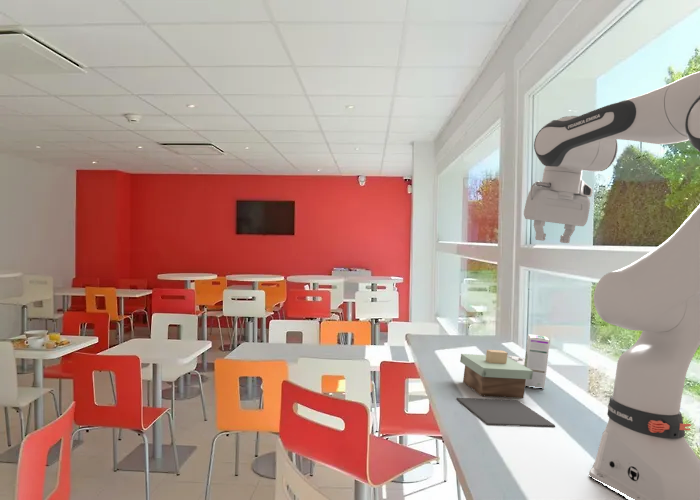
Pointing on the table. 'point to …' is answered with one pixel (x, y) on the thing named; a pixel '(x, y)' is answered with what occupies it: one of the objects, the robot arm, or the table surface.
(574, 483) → the table surface
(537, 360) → the syrup box
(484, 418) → the black mat
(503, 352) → the green lid
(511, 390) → the walnut box
